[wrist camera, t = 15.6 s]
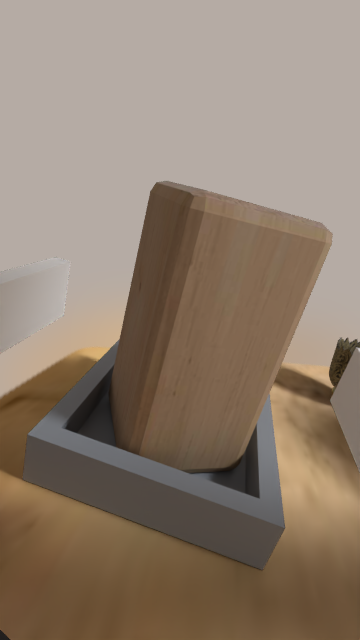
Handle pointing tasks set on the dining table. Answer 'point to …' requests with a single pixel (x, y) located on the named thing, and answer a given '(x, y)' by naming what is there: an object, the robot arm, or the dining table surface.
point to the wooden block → (208, 324)
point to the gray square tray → (158, 476)
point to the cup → (341, 360)
